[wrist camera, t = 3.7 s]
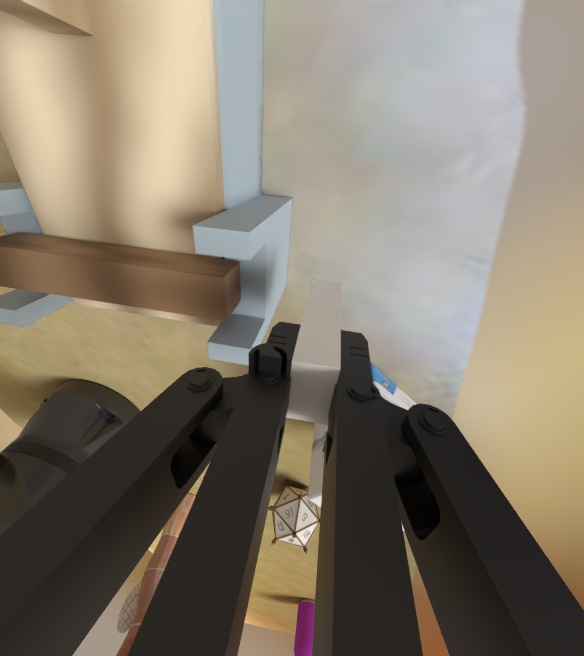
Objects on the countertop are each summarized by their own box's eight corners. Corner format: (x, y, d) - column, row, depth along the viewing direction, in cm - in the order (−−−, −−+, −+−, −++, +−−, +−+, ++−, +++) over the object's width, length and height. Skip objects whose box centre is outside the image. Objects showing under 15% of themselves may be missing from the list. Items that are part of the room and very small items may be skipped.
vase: (178, 507, 57) (49, 781, 32) (165, 489, 53) (8, 785, 28) (223, 513, 55) (124, 811, 30) (214, 495, 51) (91, 820, 26)
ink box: (315, 396, 32) (303, 500, 22) (372, 361, 28) (387, 469, 18) (362, 433, 34) (369, 541, 25) (421, 405, 30) (458, 523, 20)
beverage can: (305, 605, 82) (300, 667, 72) (294, 597, 79) (287, 660, 69) (328, 607, 79) (326, 672, 69) (317, 598, 76) (314, 665, 66)
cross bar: (38, 270, 18) (-3, 285, 16) (19, 232, 16) (-28, 242, 14) (240, 300, 16) (226, 321, 14) (239, 261, 15) (223, 277, 13)
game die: (311, 469, 47) (335, 536, 42) (268, 488, 47) (286, 557, 42) (304, 469, 40) (331, 550, 35) (251, 491, 40) (271, 576, 35)
